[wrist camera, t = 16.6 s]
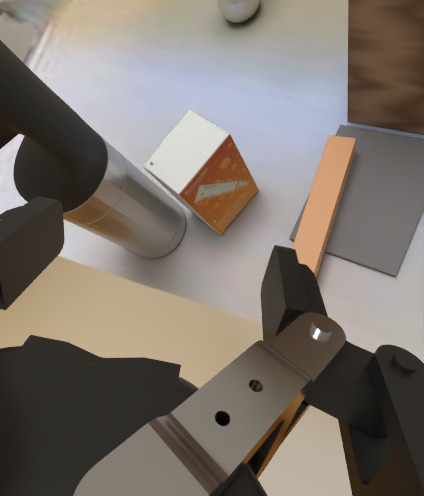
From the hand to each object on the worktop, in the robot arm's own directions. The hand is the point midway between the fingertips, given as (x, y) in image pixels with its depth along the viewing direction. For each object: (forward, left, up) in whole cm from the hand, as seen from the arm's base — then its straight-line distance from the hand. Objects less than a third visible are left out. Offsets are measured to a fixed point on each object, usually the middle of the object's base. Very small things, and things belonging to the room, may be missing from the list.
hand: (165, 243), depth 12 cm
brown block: (+1, +10, -27) cm, 29 cm away
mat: (+3, +17, -29) cm, 33 cm away
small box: (-14, +11, -29) cm, 34 cm away
